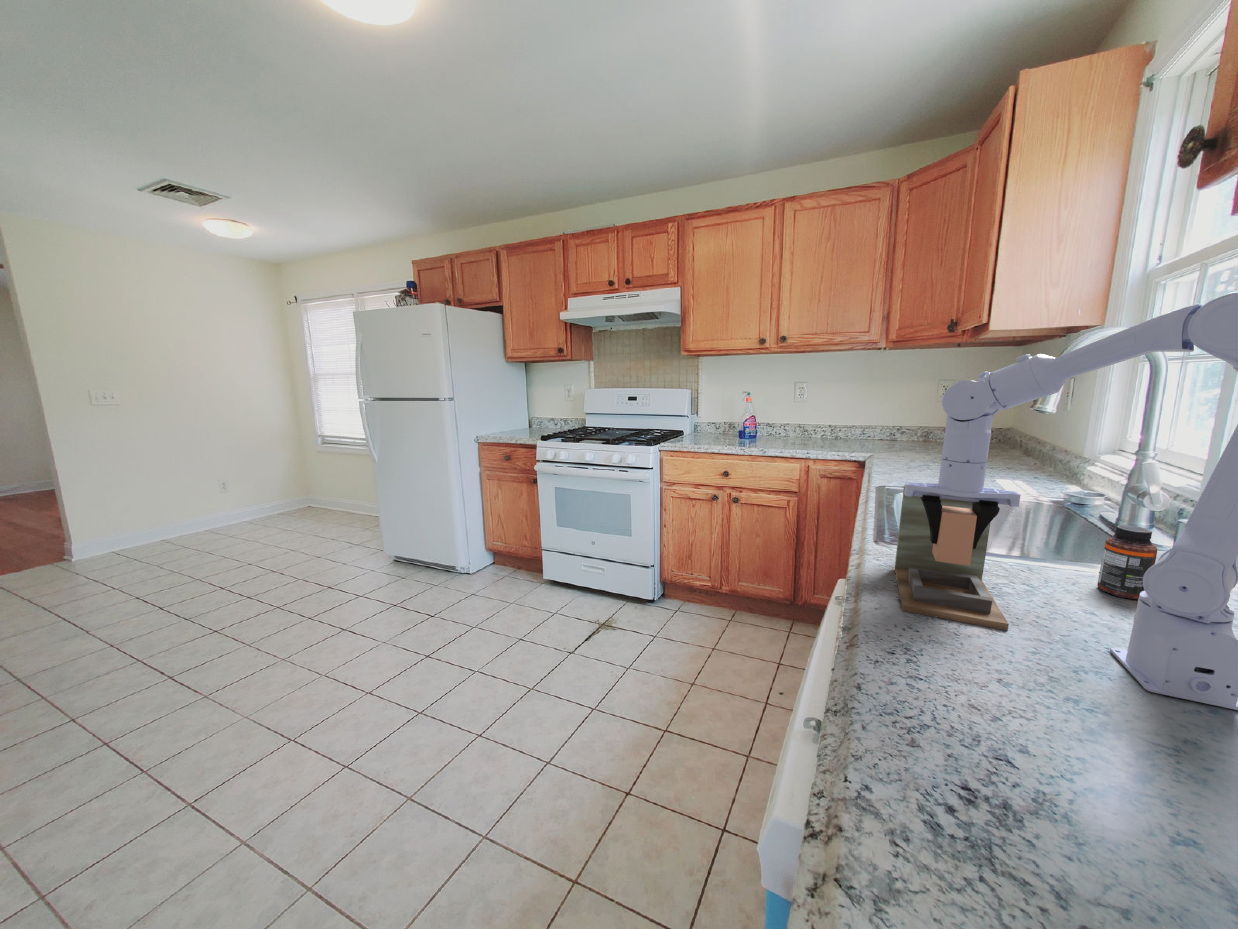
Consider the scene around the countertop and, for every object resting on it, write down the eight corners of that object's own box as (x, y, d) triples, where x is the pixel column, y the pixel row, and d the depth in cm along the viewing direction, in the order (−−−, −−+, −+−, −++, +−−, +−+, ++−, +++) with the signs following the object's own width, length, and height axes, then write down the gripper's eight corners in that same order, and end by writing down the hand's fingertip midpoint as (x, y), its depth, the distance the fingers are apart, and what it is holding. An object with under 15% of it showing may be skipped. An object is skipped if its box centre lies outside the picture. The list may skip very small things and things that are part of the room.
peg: (969, 565, 73) (977, 515, 72) (935, 561, 75) (942, 512, 74) (964, 556, 77) (970, 508, 76) (932, 551, 79) (938, 505, 78)
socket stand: (1007, 630, 68) (1025, 521, 65) (902, 610, 74) (914, 509, 71) (979, 582, 84) (992, 492, 81) (894, 569, 89) (904, 485, 86)
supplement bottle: (1122, 586, 83) (1136, 523, 80) (1158, 602, 77) (1174, 534, 75) (1086, 584, 83) (1098, 522, 81) (1119, 600, 77) (1133, 533, 75)
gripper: (1015, 459, 74) (1002, 543, 76) (906, 453, 80) (897, 530, 82) (1030, 467, 67) (1015, 558, 70) (910, 459, 74) (901, 543, 76)
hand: (952, 544), depth 76 cm, fingers closed on peg, 4 cm apart
